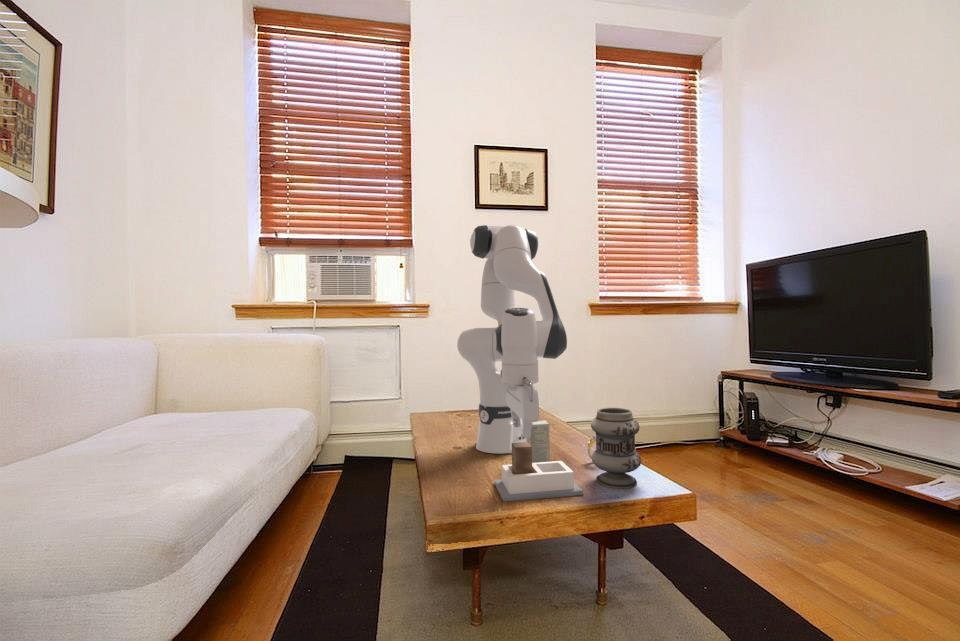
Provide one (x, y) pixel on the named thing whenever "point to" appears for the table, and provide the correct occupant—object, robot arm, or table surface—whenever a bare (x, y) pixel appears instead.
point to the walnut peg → (521, 458)
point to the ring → (590, 444)
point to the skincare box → (540, 441)
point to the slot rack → (538, 482)
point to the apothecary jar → (615, 447)
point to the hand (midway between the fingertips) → (521, 431)
